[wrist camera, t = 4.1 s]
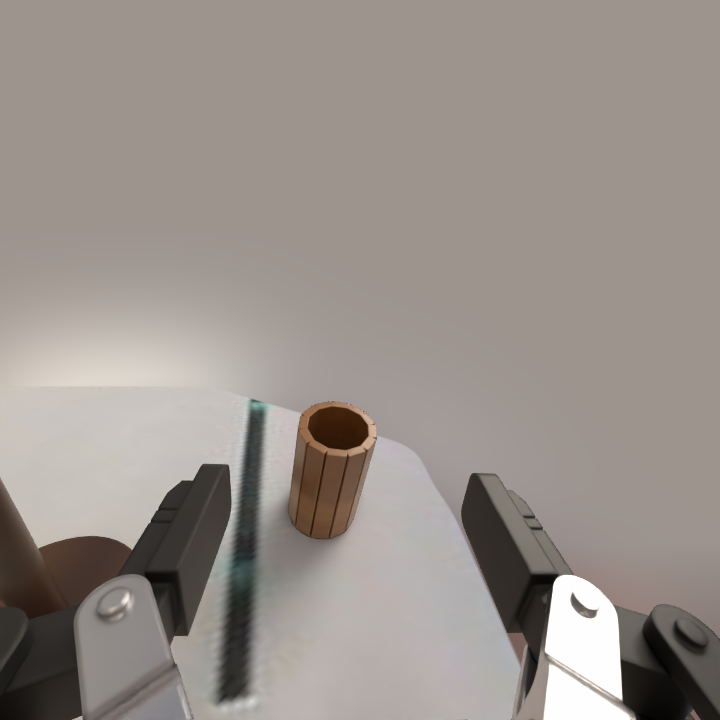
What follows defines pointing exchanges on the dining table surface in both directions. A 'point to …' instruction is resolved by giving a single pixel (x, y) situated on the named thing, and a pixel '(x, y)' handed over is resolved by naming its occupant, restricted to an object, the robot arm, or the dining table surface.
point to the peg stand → (51, 565)
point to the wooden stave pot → (330, 467)
